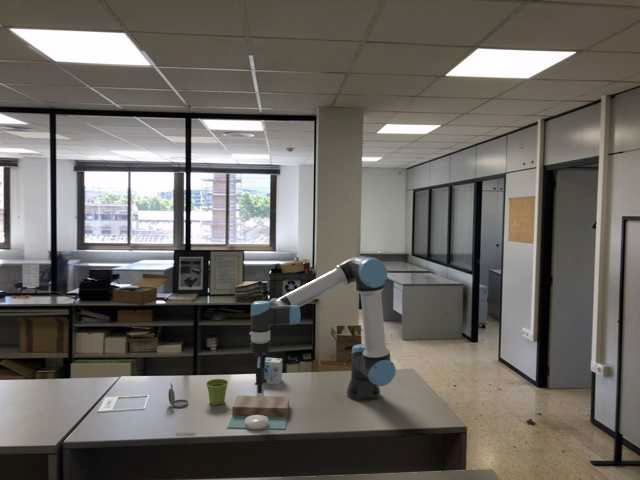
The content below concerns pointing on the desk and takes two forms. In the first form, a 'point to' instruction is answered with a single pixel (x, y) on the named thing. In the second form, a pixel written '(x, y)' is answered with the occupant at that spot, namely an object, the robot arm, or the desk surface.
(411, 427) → the desk surface
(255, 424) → the white domed disc
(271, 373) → the light bulb box
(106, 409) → the photo frame
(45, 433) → the desk surface
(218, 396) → the plant pot
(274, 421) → the mat
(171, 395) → the pocket watch
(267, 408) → the board
